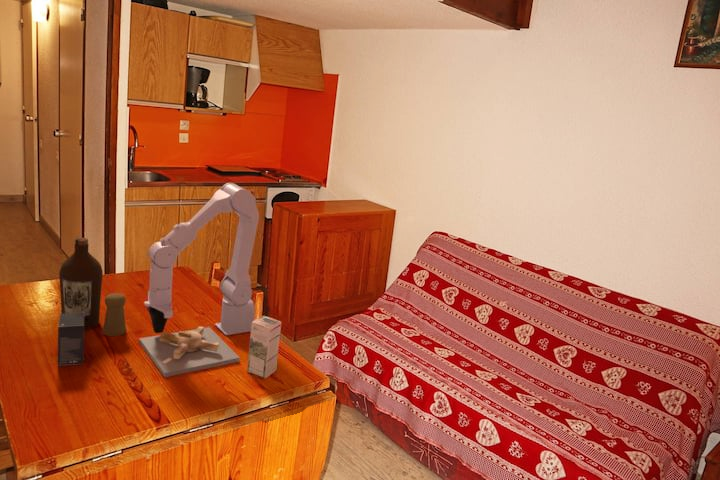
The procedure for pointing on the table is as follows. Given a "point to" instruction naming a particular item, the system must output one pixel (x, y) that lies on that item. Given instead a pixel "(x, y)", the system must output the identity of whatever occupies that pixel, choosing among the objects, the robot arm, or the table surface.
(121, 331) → the cork
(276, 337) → the syrup box
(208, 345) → the capstan
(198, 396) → the table surface
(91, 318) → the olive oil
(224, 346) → the stand board
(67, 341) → the box
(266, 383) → the table surface
